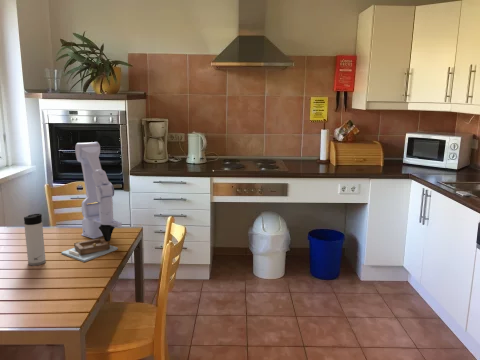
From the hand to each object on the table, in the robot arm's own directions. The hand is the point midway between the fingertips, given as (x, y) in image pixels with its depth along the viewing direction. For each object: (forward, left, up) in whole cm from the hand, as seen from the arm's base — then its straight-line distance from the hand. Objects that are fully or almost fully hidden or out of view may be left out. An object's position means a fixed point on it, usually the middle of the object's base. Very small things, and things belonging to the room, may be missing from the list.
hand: (107, 240), depth 185 cm
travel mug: (-7, -29, -2) cm, 30 cm away
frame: (0, -9, -1) cm, 9 cm away
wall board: (0, -9, -2) cm, 10 cm away
